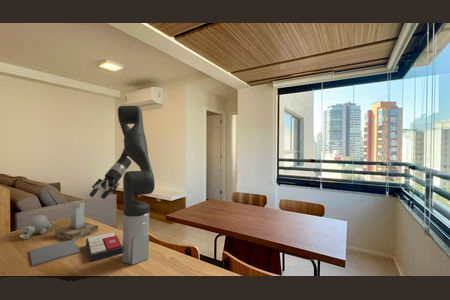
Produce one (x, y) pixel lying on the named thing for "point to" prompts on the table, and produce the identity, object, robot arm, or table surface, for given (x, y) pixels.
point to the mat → (53, 252)
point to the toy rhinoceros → (36, 226)
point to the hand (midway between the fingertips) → (96, 197)
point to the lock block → (76, 231)
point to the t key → (77, 215)
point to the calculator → (103, 246)
